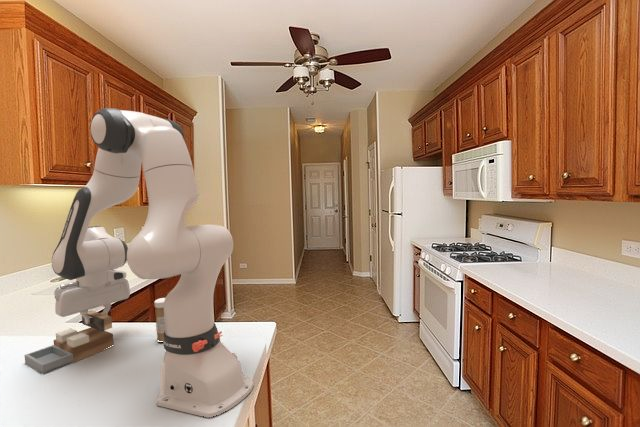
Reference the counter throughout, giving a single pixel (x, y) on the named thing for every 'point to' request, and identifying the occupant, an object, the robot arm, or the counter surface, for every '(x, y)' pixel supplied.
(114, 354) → the counter surface
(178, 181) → the robot arm
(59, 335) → the tile
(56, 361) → the tray
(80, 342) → the tile
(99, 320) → the tan wooden bar
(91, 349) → the board
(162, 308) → the sprinkles bottle
